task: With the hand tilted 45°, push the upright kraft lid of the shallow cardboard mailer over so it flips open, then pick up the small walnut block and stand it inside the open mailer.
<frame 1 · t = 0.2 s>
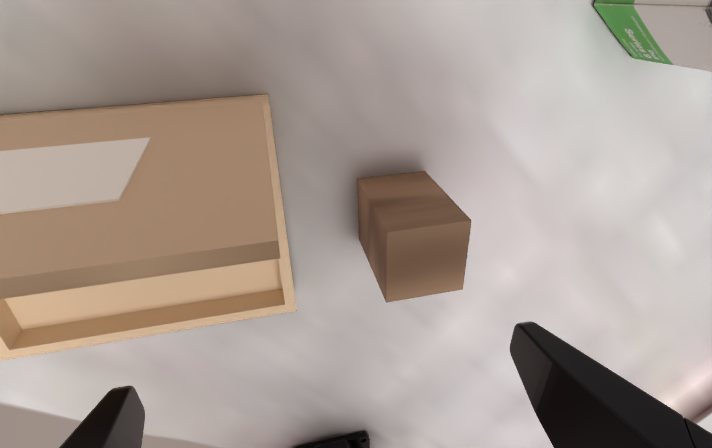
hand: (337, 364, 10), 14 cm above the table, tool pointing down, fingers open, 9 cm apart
mailer lid: (16, 180, 12), point 8 cm above the table, hinge at 87.0°
walnut block: (390, 205, 25), on the table
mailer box: (133, 222, 22), on the table
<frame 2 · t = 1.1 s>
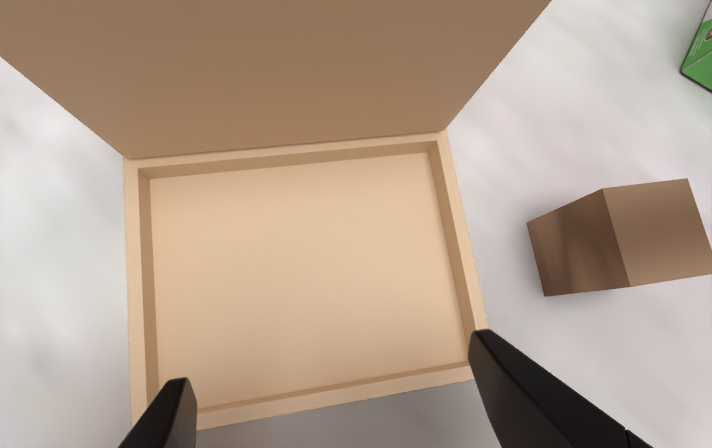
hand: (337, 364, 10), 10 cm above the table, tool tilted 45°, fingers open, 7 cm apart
mailer lid: (290, 79, 14), point 8 cm above the table, hinge at 87.0°
walnut block: (569, 254, 23), on the table
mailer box: (308, 270, 21), on the table
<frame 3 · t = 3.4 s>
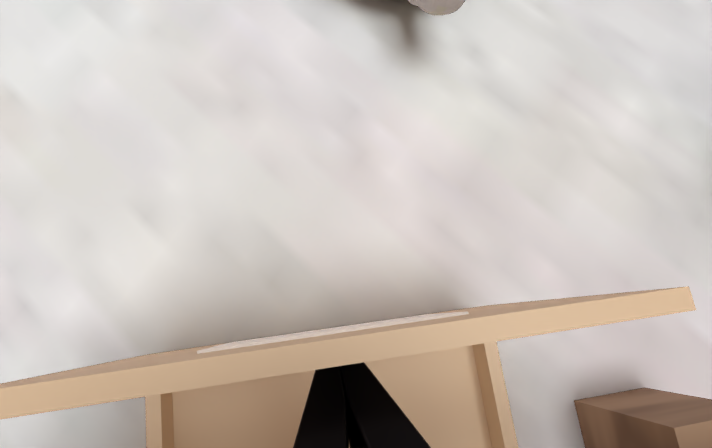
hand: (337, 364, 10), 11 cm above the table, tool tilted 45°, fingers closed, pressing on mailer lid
mailer lid: (334, 338, 13), point 8 cm above the table, hinge at 89.3°, touching gripper
walnut block: (620, 436, 21), on the table
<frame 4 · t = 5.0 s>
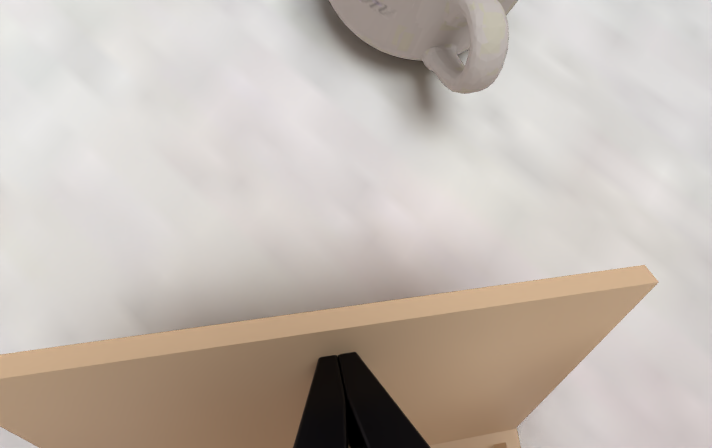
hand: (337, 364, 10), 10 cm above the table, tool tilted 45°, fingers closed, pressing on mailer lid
mailer lid: (338, 407, 13), point 7 cm above the table, hinge at 120.4°, touching gripper
teacup: (408, 30, 24), on the table
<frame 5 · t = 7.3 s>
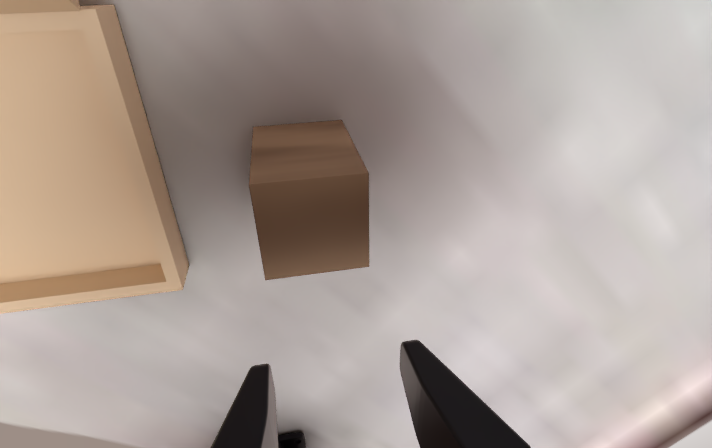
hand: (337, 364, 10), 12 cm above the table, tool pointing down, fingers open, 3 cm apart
walnut block: (301, 163, 20), on the table
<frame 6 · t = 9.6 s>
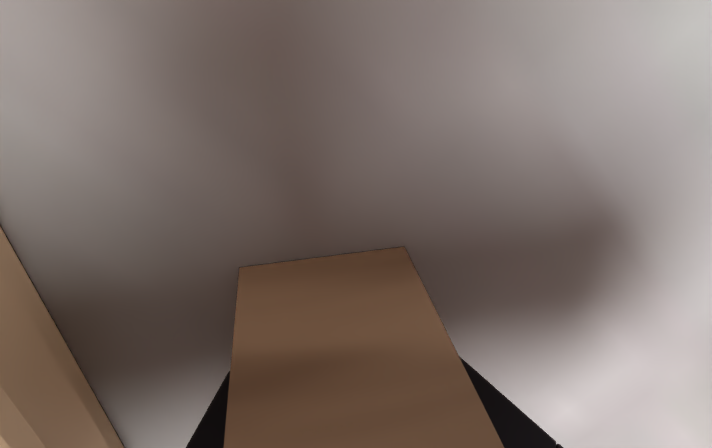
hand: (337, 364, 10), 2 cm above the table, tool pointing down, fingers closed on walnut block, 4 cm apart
walnut block: (328, 317, 11), on the table, touching gripper
when the fingers open (3 cm above the table, at t = 13.7 s): walnut block stays where it is, resting on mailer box.
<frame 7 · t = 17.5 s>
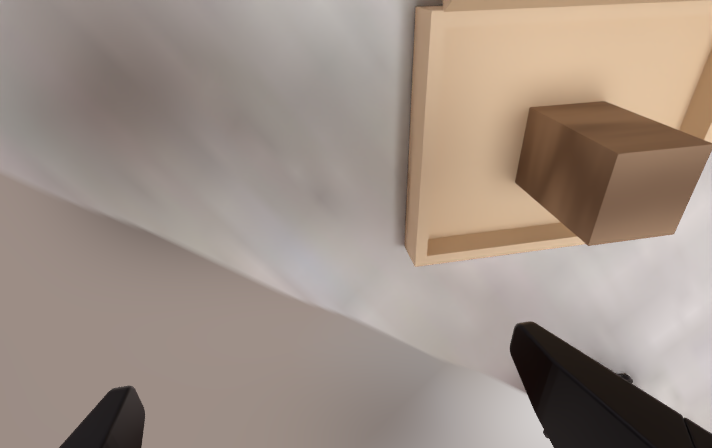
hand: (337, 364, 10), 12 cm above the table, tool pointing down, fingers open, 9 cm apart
walnut block: (558, 143, 21), resting on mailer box
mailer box: (553, 131, 21), on the table
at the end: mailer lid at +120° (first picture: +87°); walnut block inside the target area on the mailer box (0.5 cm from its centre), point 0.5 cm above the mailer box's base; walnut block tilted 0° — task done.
